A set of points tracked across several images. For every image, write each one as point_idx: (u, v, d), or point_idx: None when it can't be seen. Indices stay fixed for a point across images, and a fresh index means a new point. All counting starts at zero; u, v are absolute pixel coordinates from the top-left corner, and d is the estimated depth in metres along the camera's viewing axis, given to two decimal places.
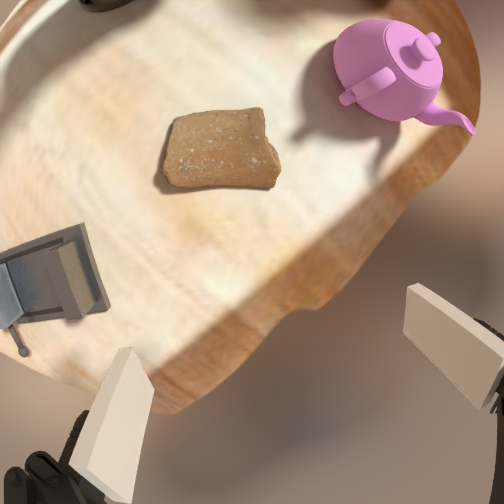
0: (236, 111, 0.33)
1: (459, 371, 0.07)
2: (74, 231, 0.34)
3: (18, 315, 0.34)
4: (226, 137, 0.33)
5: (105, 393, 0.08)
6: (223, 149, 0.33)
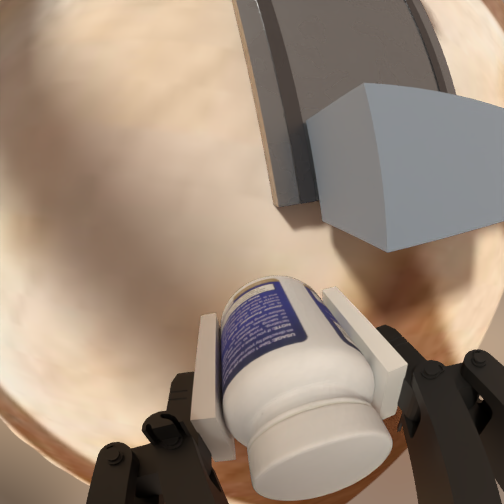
0: None
1: None
2: None
3: None
4: None
5: (206, 351, 0.10)
6: None
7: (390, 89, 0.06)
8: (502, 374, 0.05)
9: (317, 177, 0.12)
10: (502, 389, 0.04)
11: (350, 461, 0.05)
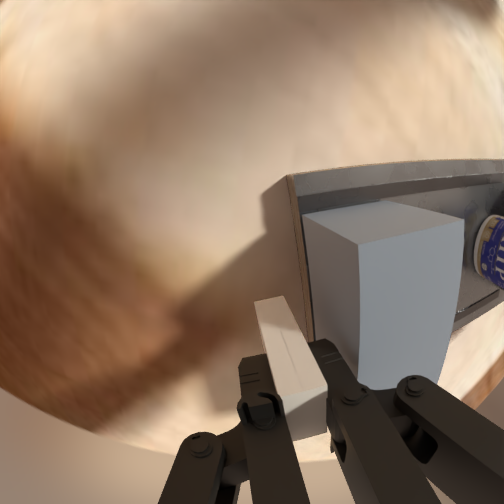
0: None
1: None
2: None
3: None
4: None
5: (272, 333, 0.10)
6: None
7: (461, 243, 0.08)
8: (446, 401, 0.05)
9: (342, 208, 0.13)
10: (447, 419, 0.05)
11: None
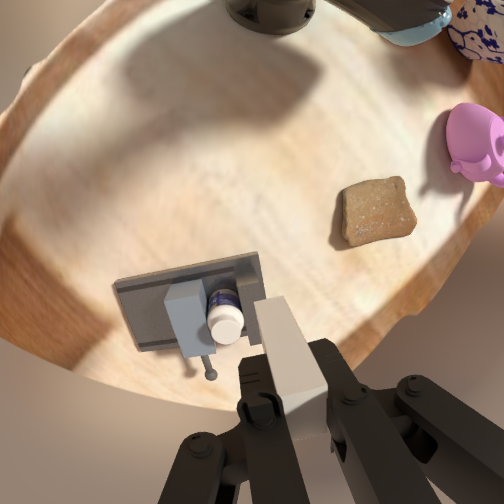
0: (385, 180, 0.41)
1: None
2: (250, 260, 0.42)
3: None
4: (383, 203, 0.42)
5: (272, 333, 0.10)
6: (382, 213, 0.42)
7: (198, 301, 0.36)
8: (446, 401, 0.05)
9: (183, 282, 0.41)
10: (447, 419, 0.05)
11: (230, 336, 0.35)
